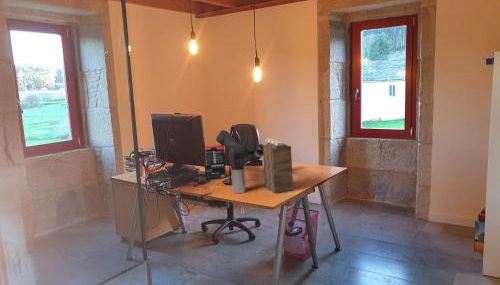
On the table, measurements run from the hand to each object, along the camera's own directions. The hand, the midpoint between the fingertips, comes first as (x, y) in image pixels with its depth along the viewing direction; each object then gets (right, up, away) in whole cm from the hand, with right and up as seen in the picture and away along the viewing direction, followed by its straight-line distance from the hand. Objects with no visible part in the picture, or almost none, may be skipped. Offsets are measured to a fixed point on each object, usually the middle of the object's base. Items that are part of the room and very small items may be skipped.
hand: (266, 144), depth 290 cm
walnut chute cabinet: (+9, -32, -12) cm, 36 cm away
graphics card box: (-41, -28, +28) cm, 57 cm away
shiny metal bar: (+4, 0, -12) cm, 13 cm away
